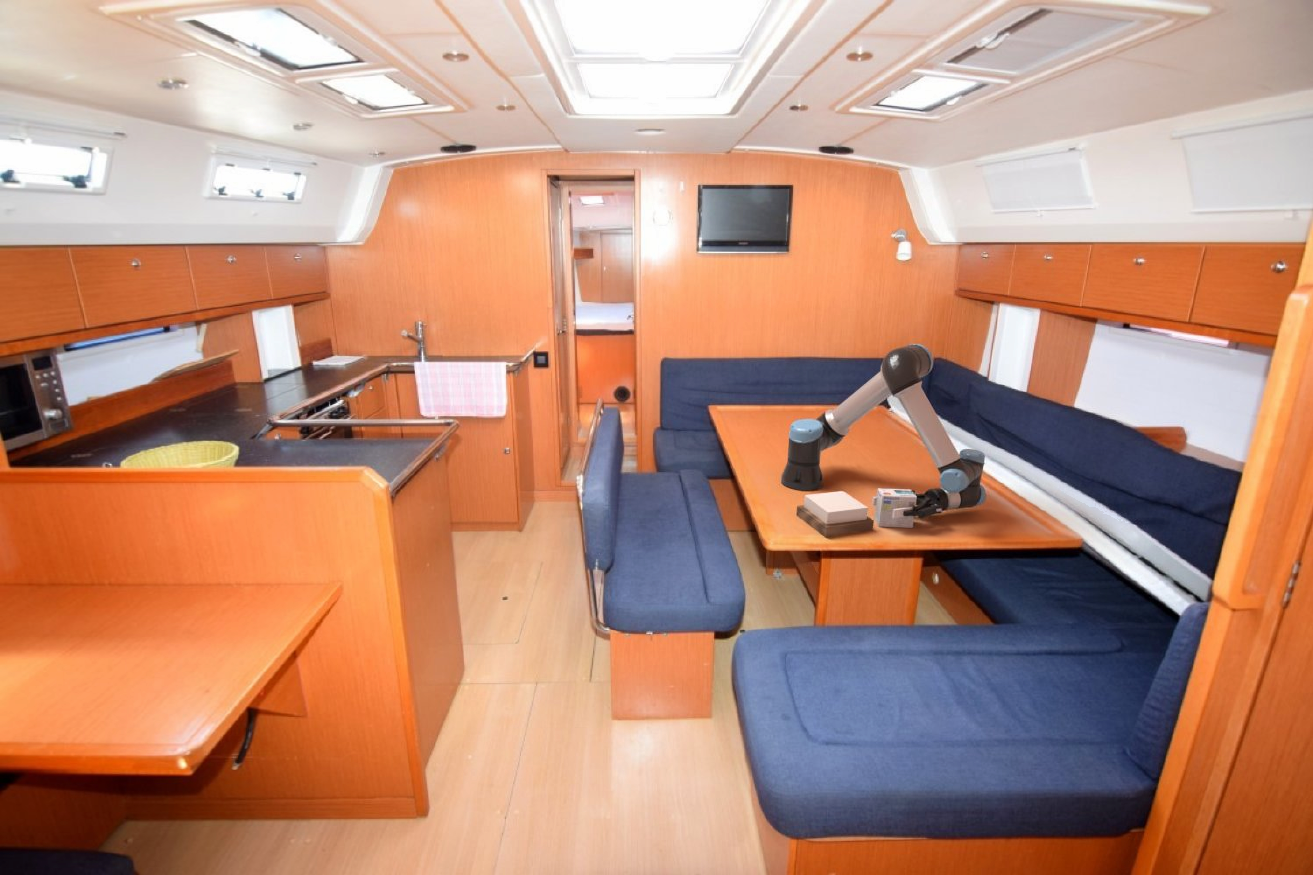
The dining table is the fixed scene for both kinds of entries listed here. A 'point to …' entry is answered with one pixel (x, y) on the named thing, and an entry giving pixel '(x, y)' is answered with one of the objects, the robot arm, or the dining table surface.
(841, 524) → the walnut slab
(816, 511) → the white slab
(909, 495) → the light bulb box
